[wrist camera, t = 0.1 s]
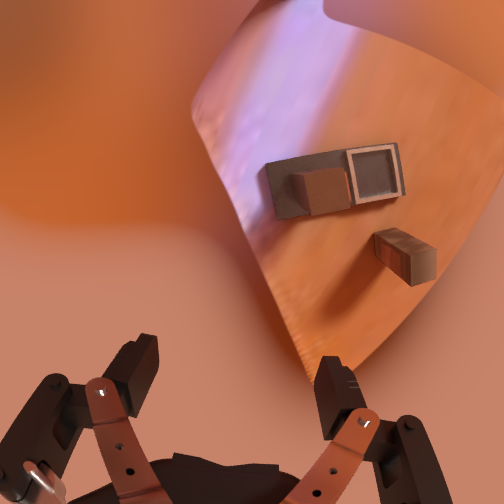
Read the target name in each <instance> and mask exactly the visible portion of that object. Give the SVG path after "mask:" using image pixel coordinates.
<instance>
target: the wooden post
mask: <svg viewBox="0 0 504 504" xmlns="http://www.w3.org/2000/svg"><path fill="white" fill-rule="evenodd" d="M374 241H375V251H376V257H377V258H378V259H379V260H380V261H382V262H383V263H384V264H385V265H386V266H387V267H388V268H390V269H391V270H392V271H393V272H394V273H395V274H397V275H398V276H399V277H400V278H402V279H403V280H404V281H405V282H406V283H407V284H408V285H409V286H411V287H412V286H415V285H419V284H422V283H425V282H428V281H431V280H434V279H436V265H437V249H436V248H434V247H432V246H430V245H428V244H426V243H424V242H423V241H421V240H419V239H417V238H415V237H413V236H411V235H409V234H407V233H405V232H403V231H401V230H399V229H397V228H392V229H388V230H383V231H379V232H374Z"/></svg>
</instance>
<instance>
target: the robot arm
mask: <svg viewBox="0 0 504 504" xmlns="http://www.w3.org/2000/svg"><path fill="white" fill-rule="evenodd" d="M158 368H159V353H158V341H157V336H154V335H149V334H144V333H141V334H140V336H139V337H138V339H137V340H136V342H134V341H129V342H128V343H126V344H125V345H123V346H122V348H121V349H120V350H119V352H118V353H117V355H116V356H115V359H113V361H112V362H111V364H110V365H109V367H108V368H107V369H106V371H105V373H104V374H103V375H102V377H98V378H94V379H92V380H90V381H89V382H88V383H87V384H86V385H80V384H70V383H69V381H68V379H67V377H66V376H64V375H62V374H58V373H54V374H50V375H48V376H46V377H45V378H44V379H43V381H42V382H41V383H40V385H39V386H38V387H37V389H36V390H35V391H34V393H33V394H32V396H31V397H30V398H29V400H28V401H27V403H26V404H25V406H24V407H23V409H22V410H21V412H20V413H19V415H18V416H17V418H16V419H15V421H14V422H13V424H12V425H11V427H10V428H9V430H8V432H7V433H6V435H5V437H4V438H3V439H2V441H1V443H0V494H1V495H2V496H3V497H4V498H5V499H7V500H8V501H9V502H10V503H12V504H66V501H65V494H66V488H65V485H64V483H63V482H62V481H61V477H62V475H63V473H64V470H65V468H66V466H67V463H68V461H69V459H70V457H71V454H72V452H73V450H74V448H75V446H76V443H77V441H78V439H79V437H80V435H81V433H82V431H83V428H90V429H93V430H94V433H95V436H96V439H97V442H98V446H99V449H100V452H101V455H102V457H103V460H104V463H105V466H106V468H107V471H108V473H109V476H110V478H111V481H112V482H111V483H109V484H107V485H105V486H103V487H101V488H99V489H97V490H95V491H93V492H90V493H88V494H86V495H84V496H81V497H79V498H77V499H74V500H72V501H70V502H68V503H67V504H335V503H336V501H337V500H338V499H339V498H340V496H341V495H342V493H343V491H344V490H345V488H346V487H347V485H348V484H349V482H350V481H351V479H352V477H353V476H354V474H355V472H356V471H357V469H358V467H359V465H360V464H361V462H362V461H369V462H372V463H373V468H374V472H375V477H376V482H377V487H378V492H379V497H380V502H381V504H453V502H452V500H451V496H450V493H449V490H448V487H447V484H446V482H445V479H444V476H443V473H442V471H441V468H440V465H439V463H438V460H437V457H436V455H435V452H434V450H433V447H432V445H431V442H430V440H429V438H428V435H427V433H426V431H425V428H424V426H423V424H422V422H421V421H420V420H419V419H418V418H417V417H415V416H412V415H404V416H401V417H400V418H399V419H398V420H397V422H392V421H386V420H381V419H379V417H378V415H377V414H376V413H375V412H374V411H372V410H370V409H368V408H367V406H366V403H365V401H364V398H363V395H362V393H361V390H360V388H359V385H358V383H357V380H356V377H355V375H354V373H353V372H352V371H351V370H350V369H349V368H348V367H347V366H342V364H341V361H340V359H339V357H338V356H323V357H322V359H321V362H320V365H319V368H318V371H317V374H316V377H315V380H314V392H315V397H316V401H317V407H318V412H319V417H320V422H321V426H322V432H323V437H324V440H332V441H331V442H330V444H329V445H328V446H327V448H326V449H325V451H324V452H323V453H322V454H321V456H320V457H319V459H318V460H317V461H316V462H315V464H314V465H313V466H312V467H311V469H310V470H309V471H308V472H307V473H306V475H305V476H304V477H303V478H302V479H301V480H300V479H298V478H296V477H295V476H293V475H290V474H288V473H285V472H281V471H279V465H274V464H245V465H236V466H222V465H219V464H216V463H213V462H211V461H208V460H205V459H202V458H200V457H195V456H189V455H184V454H179V453H174V454H173V457H172V459H160V460H155V461H152V462H148V460H147V458H146V456H145V454H144V452H143V450H142V448H141V446H140V444H139V442H138V439H137V437H136V435H135V433H134V431H133V428H132V426H131V423H130V421H129V419H128V417H129V416H131V417H134V418H137V416H138V413H139V411H140V409H141V407H142V404H143V402H144V400H145V398H146V395H147V393H148V391H149V388H150V386H151V384H152V382H153V380H154V378H155V376H156V373H157V371H158Z"/></svg>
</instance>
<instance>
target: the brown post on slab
mask: <svg viewBox="0 0 504 504" xmlns="http://www.w3.org/2000/svg"><path fill="white" fill-rule="evenodd" d="M265 166H266V170H267V175H268V179H269V183H270V188H271V192H272V197H273V201H274V206H275V210H276V215H277V219H278V220H282V219H287V218H292V217H296V216H301V215H306V214H310V215H311V216H315V215H320V214H325V213H330V212H335V211H340V210H345V209H350V208H351V205H356V204H361V203H366V202H372V201H377V200H382V199H388V198H393V197H399V196H404V195H406V194H405V187H404V180H403V173H402V167H401V161H400V156H399V150H398V145H397V143H390V144H381V145H372V146H364V147H357V148H350V149H343V150H336V151H330V152H324V153H318V154H312V155H307V156H301V157H296V158H291V159H286V160H281V161H276V162H271V163H266V164H265Z"/></svg>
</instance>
